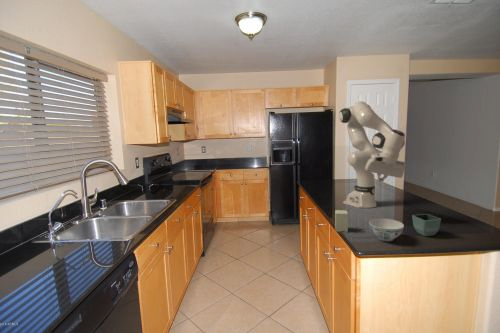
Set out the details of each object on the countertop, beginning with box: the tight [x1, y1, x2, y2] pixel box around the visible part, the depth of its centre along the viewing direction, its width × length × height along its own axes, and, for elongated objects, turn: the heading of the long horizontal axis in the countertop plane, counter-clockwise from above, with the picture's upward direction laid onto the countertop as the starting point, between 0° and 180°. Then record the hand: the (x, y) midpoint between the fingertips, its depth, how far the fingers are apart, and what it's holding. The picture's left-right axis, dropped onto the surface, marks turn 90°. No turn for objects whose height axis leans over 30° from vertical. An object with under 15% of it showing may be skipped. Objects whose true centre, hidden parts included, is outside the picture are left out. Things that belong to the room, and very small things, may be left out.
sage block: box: [334, 209, 349, 233], centre depth 138 cm, size 6×6×10 cm
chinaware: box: [368, 218, 405, 242], centre depth 124 cm, size 15×15×8 cm
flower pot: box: [411, 213, 442, 237], centre depth 127 cm, size 9×9×9 cm
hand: (380, 181), depth 148 cm, fingers closed
